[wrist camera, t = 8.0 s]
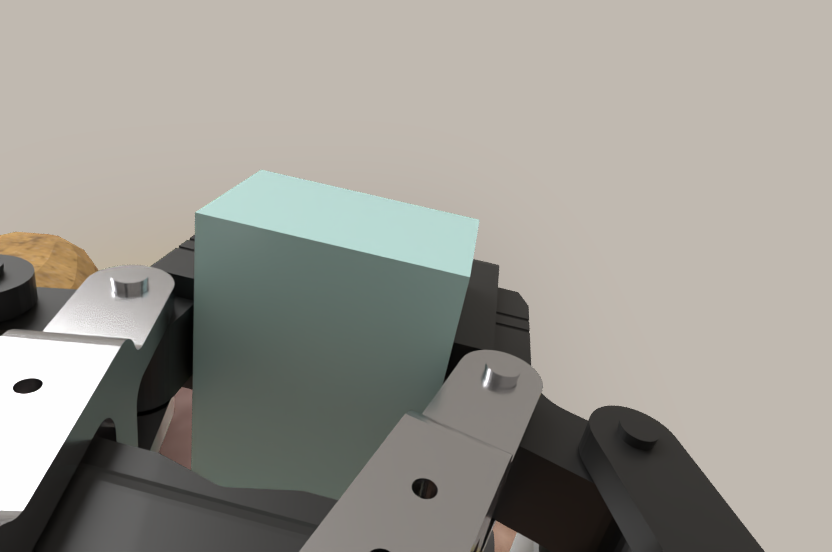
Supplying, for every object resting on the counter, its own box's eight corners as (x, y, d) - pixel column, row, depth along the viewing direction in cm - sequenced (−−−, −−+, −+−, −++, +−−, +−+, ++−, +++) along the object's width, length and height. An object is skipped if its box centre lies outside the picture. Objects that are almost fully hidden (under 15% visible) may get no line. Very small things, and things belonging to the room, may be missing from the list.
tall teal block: (174, 659, 12) (173, 227, 8) (246, 521, 15) (273, 161, 11) (360, 712, 12) (466, 296, 7) (393, 560, 15) (481, 208, 11)
